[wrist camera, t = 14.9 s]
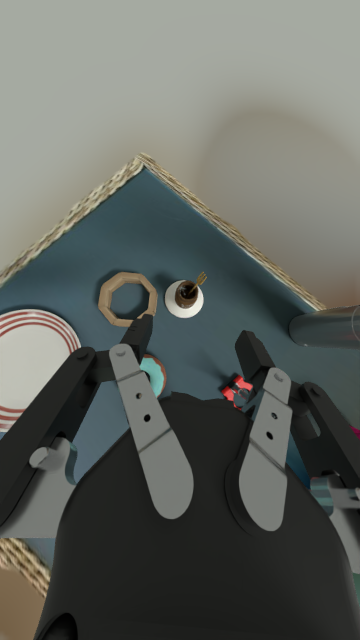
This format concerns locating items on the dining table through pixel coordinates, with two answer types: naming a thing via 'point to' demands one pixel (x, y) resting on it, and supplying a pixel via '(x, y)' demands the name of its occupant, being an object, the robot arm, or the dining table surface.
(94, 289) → the dining table surface
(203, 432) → the robot arm
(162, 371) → the donut
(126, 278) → the oak ring
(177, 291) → the utensil holder
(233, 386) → the tow hook
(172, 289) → the coaster
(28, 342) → the dinner plate
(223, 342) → the dining table surface
